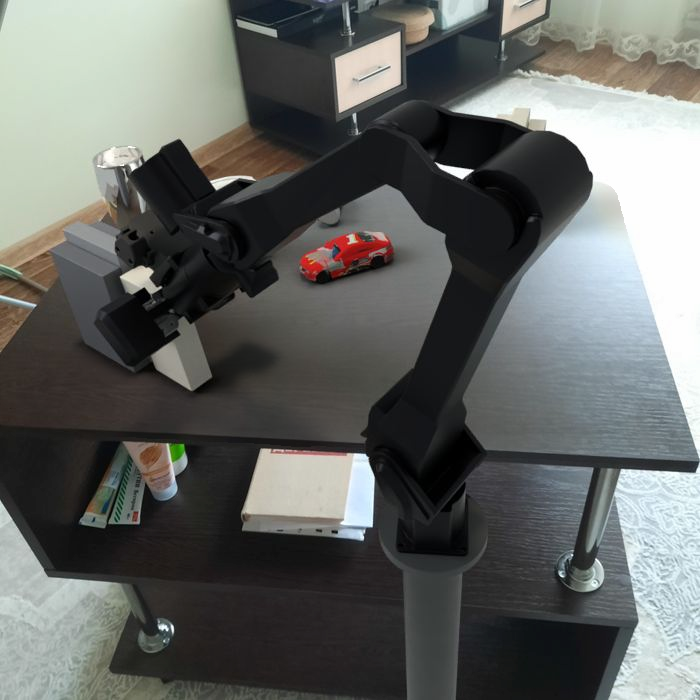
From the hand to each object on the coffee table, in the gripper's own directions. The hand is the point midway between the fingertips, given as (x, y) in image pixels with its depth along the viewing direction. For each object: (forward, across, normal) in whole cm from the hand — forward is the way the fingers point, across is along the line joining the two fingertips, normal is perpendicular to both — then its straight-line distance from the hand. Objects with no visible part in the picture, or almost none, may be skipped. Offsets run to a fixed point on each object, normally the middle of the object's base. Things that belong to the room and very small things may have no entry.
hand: (161, 319), depth 81 cm
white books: (-6, -51, +16) cm, 54 cm away
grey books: (+11, 0, -1) cm, 11 cm away
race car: (+3, -28, +8) cm, 29 cm away
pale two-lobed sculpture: (+11, -37, 0) cm, 39 cm away
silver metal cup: (+22, -15, -11) cm, 29 cm away
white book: (+4, 0, +6) cm, 7 cm away
